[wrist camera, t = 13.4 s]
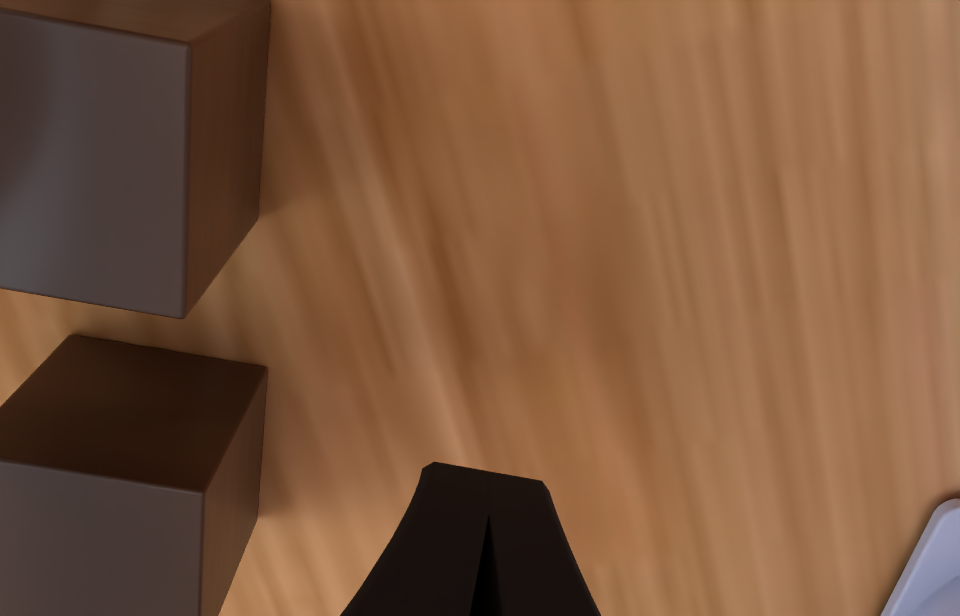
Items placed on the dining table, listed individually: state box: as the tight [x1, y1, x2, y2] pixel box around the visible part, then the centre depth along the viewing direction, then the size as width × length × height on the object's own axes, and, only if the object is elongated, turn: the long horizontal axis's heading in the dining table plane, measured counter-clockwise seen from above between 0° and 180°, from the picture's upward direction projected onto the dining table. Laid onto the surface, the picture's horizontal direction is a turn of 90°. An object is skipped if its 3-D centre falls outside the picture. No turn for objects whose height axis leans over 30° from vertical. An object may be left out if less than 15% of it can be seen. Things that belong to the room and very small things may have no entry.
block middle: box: [0, 0, 271, 319], centre depth 15 cm, size 4×4×4 cm
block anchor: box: [0, 335, 268, 616], centre depth 19 cm, size 4×4×4 cm
